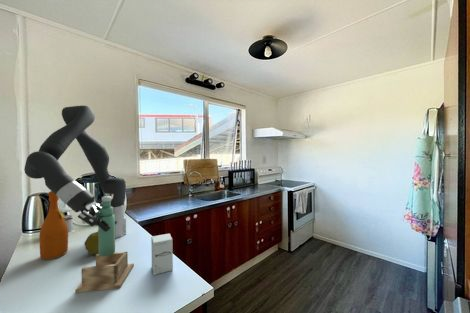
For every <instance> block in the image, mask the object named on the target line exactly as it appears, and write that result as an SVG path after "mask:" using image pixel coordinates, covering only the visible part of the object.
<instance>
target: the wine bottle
mask: <svg viewBox="0 0 470 313" xmlns="http://www.w3.org/2000/svg"><path fill="white" fill-rule="evenodd" d="M59 200H60V198H59V197H58V196H57V195H56V194H55V193H53V192H52V191H51V190H50V191H49V192H48V201H49V206H48V207H49V209H48V212H47V215H46V216H45V219H44V221H43V223H42V224H41V227H40V231H39V238H38V239H39V242H38V244H39V255H40V256H39V257H40V259H42V260H53V259H57V258H60V257H62V256H64V255H65V254H67V252H68V250H69V235H68V227H67V224H66V222H65V221H66V220H64V217H65V216H66V215H65V216H64V212H62V211H61V212H59V210H60V209H61V208H59V204H58V203H59V202H58V201H59Z"/></svg>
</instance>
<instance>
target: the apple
mask: <svg viewBox="0 0 470 313" xmlns="http://www.w3.org/2000/svg"><path fill="white" fill-rule="evenodd" d="M84 247H85V250H86V251H87V253H88V254H89V255H93V256H96V255H97V254H99V249H98V231H95V232H92V233H90V234H89V235H88V236H87V237H86V239H85V241H84Z"/></svg>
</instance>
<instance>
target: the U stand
mask: <svg viewBox="0 0 470 313" xmlns="http://www.w3.org/2000/svg"><path fill="white" fill-rule="evenodd" d="M128 256H129V255H128V251H119V252H116V251H115V252H114V253H113V254H111V255H108V256H99V254H97V255H95V265H92V266H83V267H81V283H80V284H79V285H78V286H77V287H76V288H75V289H74V290H75V291H74V292H75V294H77V293H85V292H86V293H87V292H94V291H95V292H96V291H103V290H105V291H106V290H112V289H113V290H114V289H120V288H122V286H123V284H124V283H125V281H126V279H127V278H128V277H129V275H130V274H131V271H132V270H133V268H134V266H135V263H129V262H128V258H129V257H128Z"/></svg>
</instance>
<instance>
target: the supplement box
mask: <svg viewBox="0 0 470 313" xmlns="http://www.w3.org/2000/svg"><path fill="white" fill-rule="evenodd" d="M173 244H174V243H173V237H172V236H171V233H165V234H159V235H153V236H151V269H152V275H153V276H156V275H160V274H162V273H167V272H171V270H172V271H173V270H174V267H173V266H174V265H173V264H174V262H173V261H174V260H173V254H174V253H173V252H174V251H173V248H174V247H173Z"/></svg>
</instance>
